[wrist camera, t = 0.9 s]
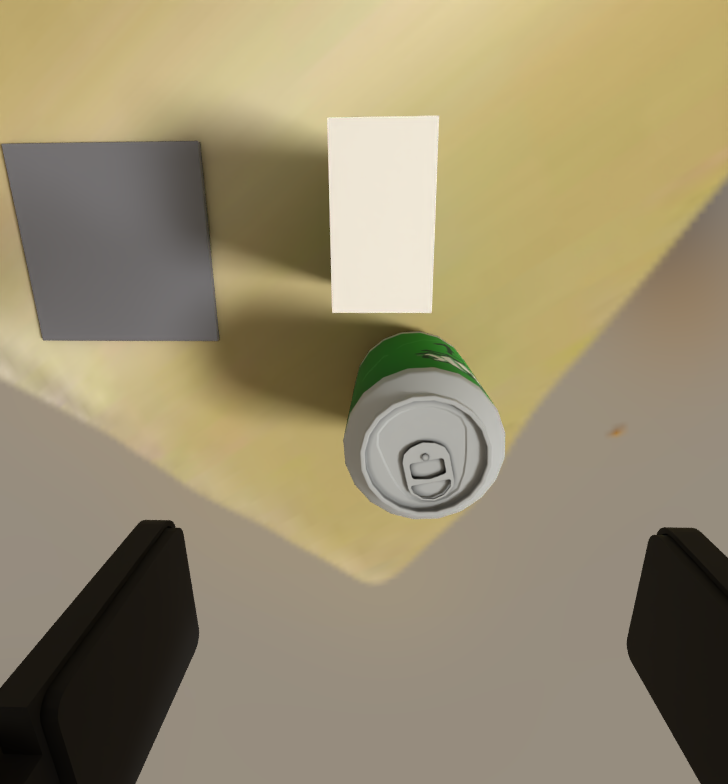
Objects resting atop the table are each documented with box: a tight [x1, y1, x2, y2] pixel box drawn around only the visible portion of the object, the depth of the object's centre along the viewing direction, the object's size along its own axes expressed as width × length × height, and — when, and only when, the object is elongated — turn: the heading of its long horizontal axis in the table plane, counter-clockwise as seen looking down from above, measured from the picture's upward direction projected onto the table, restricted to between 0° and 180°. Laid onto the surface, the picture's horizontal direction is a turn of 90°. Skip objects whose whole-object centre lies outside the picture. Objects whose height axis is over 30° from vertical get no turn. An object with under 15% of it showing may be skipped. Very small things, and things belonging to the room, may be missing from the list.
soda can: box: [343, 331, 505, 519], centre depth 27 cm, size 8×8×12 cm
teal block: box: [327, 116, 439, 313], centre depth 24 cm, size 7×4×12 cm, turn 0°
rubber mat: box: [2, 141, 219, 341], centre depth 30 cm, size 12×12×1 cm
